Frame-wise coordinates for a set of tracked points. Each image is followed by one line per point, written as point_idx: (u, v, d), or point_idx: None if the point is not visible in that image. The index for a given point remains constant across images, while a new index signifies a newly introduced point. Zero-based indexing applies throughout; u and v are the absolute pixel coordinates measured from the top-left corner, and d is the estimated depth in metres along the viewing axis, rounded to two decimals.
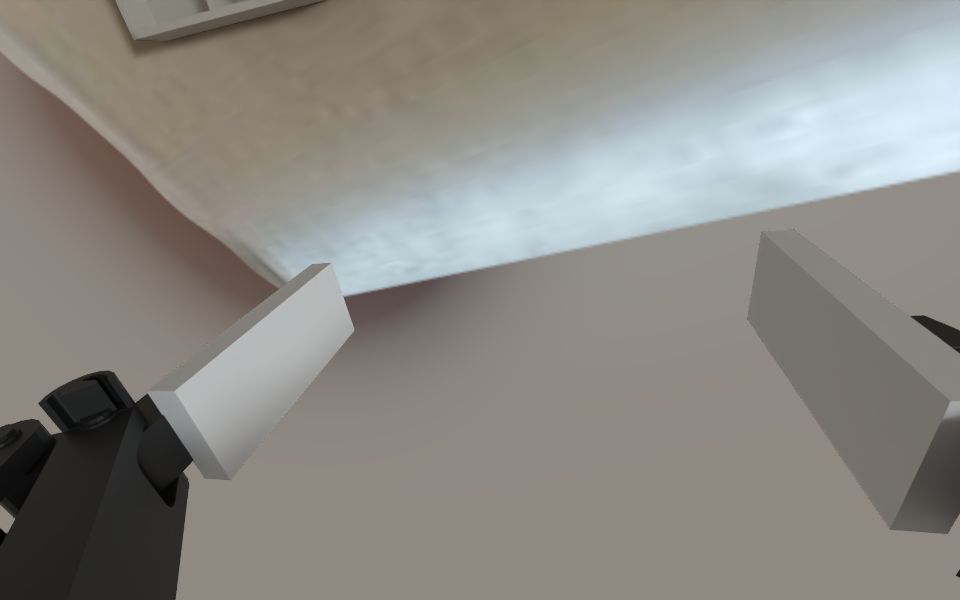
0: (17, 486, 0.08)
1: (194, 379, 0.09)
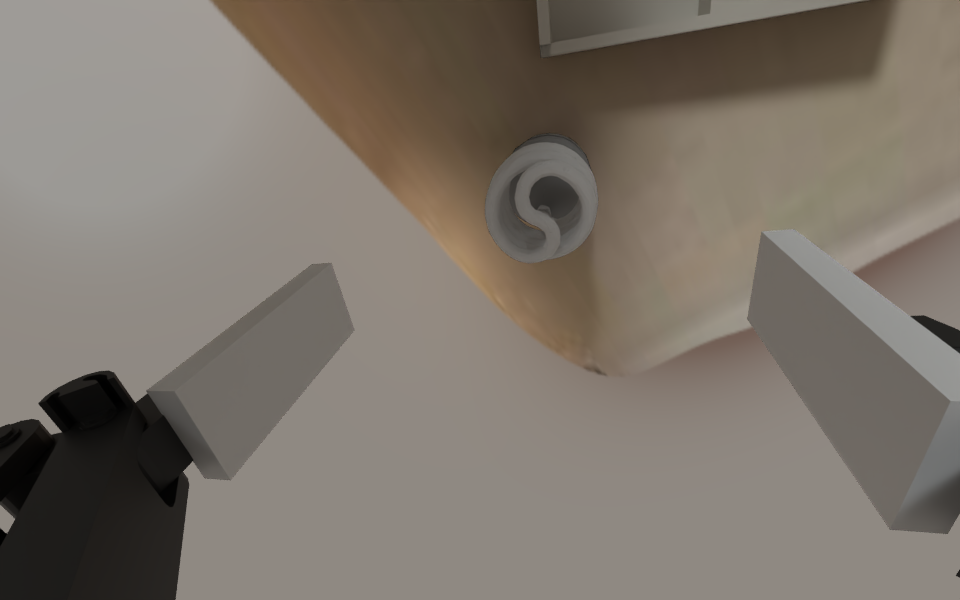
0: (17, 486, 0.08)
1: (194, 379, 0.09)
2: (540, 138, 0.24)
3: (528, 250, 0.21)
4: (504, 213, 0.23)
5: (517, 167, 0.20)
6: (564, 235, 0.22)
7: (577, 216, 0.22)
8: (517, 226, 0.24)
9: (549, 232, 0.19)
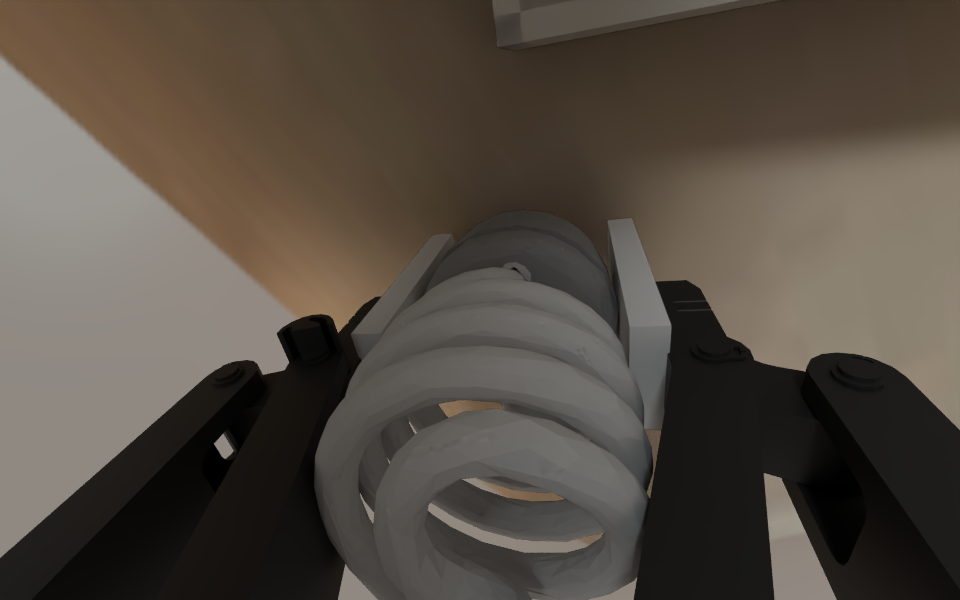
0: (233, 423, 0.09)
1: None
2: (499, 238, 0.10)
3: None
4: (404, 438, 0.09)
5: (391, 406, 0.06)
6: (554, 514, 0.08)
7: None
8: None
9: None
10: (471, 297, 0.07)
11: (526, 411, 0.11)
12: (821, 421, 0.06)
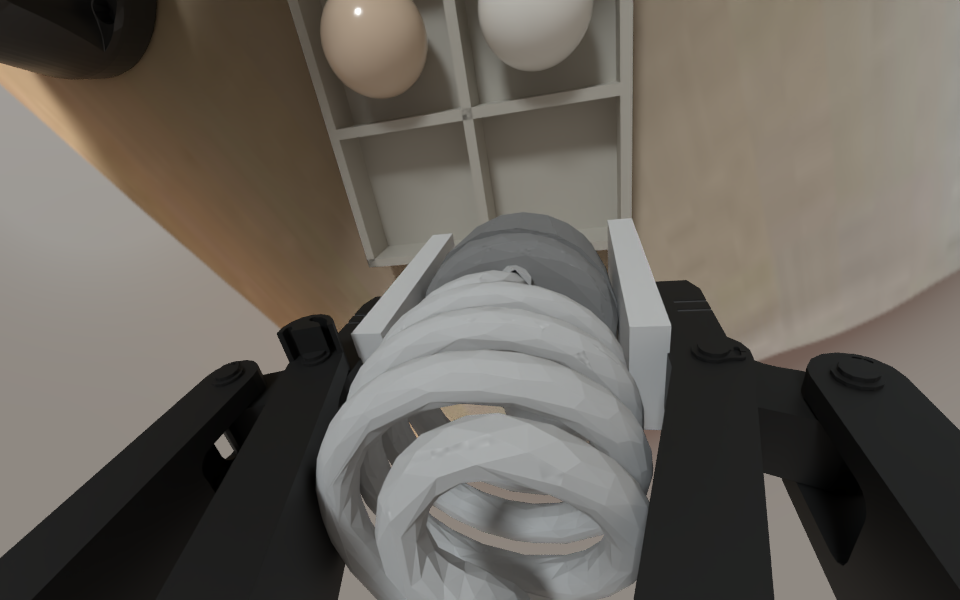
0: (233, 423, 0.09)
1: (389, 325, 0.10)
2: (499, 240, 0.10)
3: None
4: (404, 440, 0.09)
5: (392, 410, 0.06)
6: (554, 516, 0.08)
7: None
8: None
9: None
10: (472, 300, 0.08)
11: (526, 413, 0.11)
12: (821, 421, 0.06)
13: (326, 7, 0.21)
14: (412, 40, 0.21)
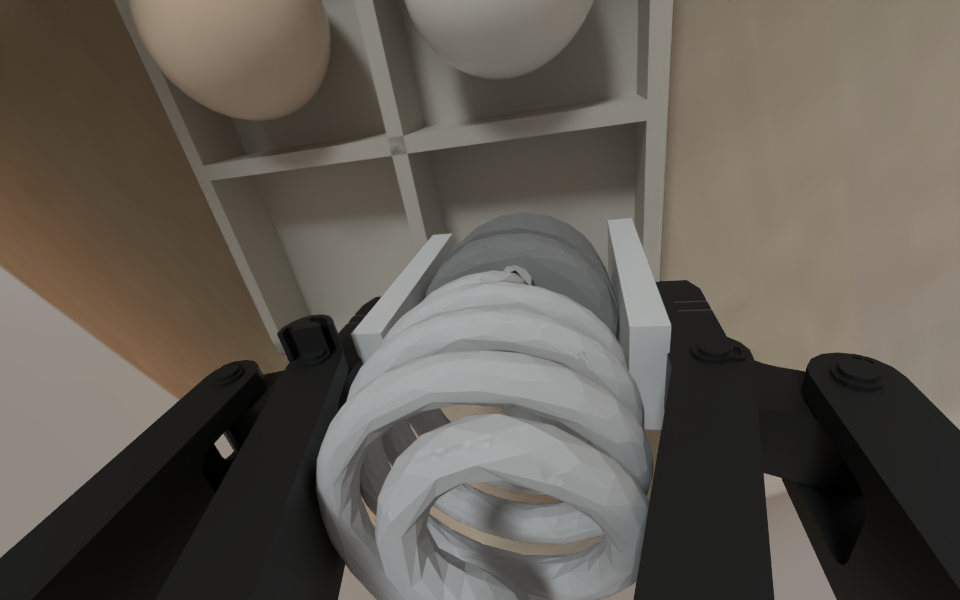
0: (233, 423, 0.09)
1: (389, 325, 0.10)
2: (499, 241, 0.10)
3: None
4: (404, 441, 0.09)
5: (393, 410, 0.06)
6: (554, 517, 0.08)
7: None
8: None
9: None
10: (472, 301, 0.08)
11: (526, 413, 0.11)
12: (821, 421, 0.06)
13: None
14: (288, 24, 0.12)
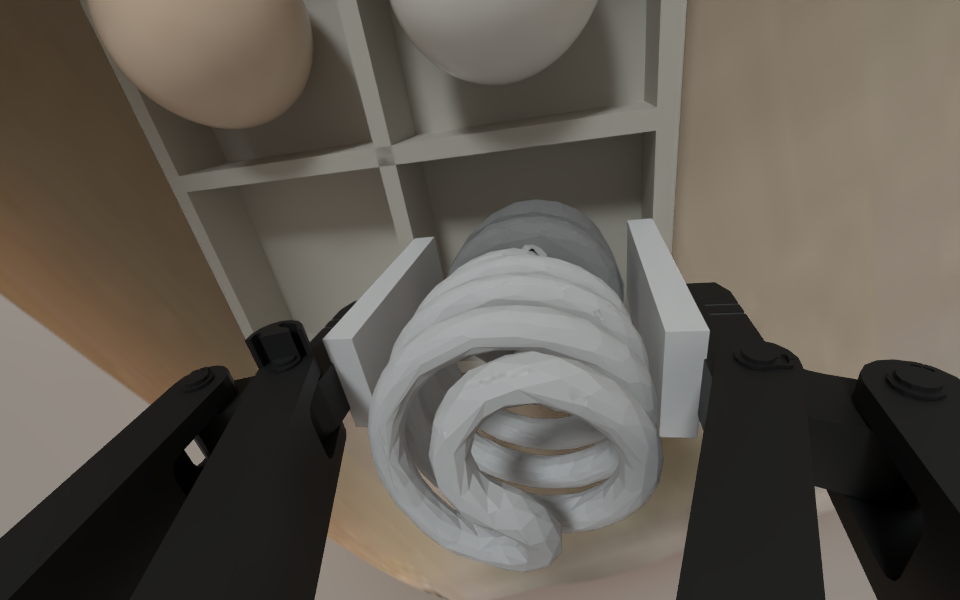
0: (204, 428, 0.09)
1: (362, 330, 0.10)
2: (517, 223, 0.11)
3: (481, 534, 0.08)
4: (435, 399, 0.10)
5: (440, 355, 0.07)
6: (570, 463, 0.09)
7: None
8: None
9: (531, 549, 0.07)
10: (500, 270, 0.09)
11: None
12: (879, 432, 0.06)
13: None
14: (262, 25, 0.11)
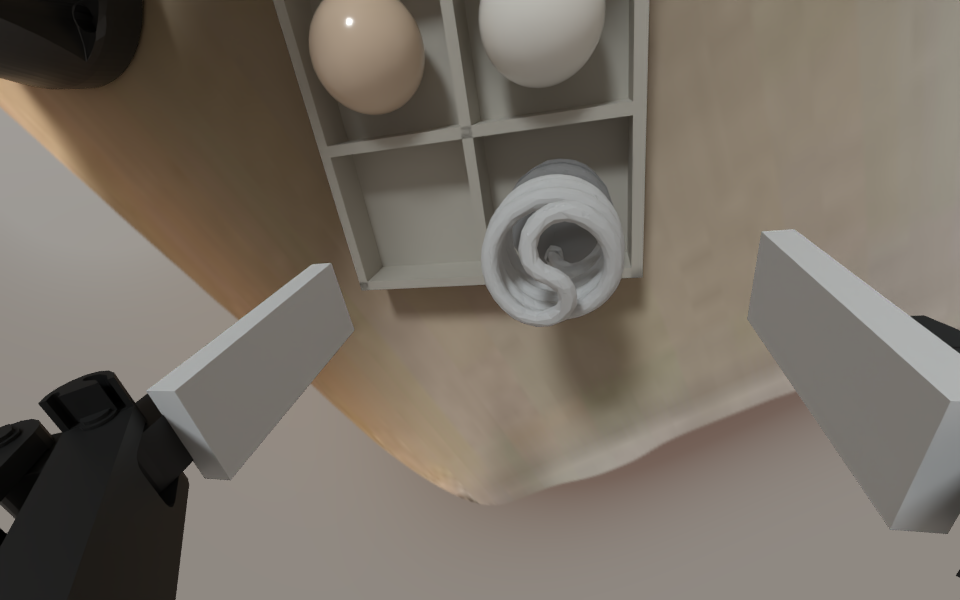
0: (17, 486, 0.08)
1: (194, 379, 0.09)
2: (551, 166, 0.19)
3: (535, 310, 0.16)
4: (506, 259, 0.18)
5: (522, 208, 0.15)
6: (580, 289, 0.18)
7: (597, 264, 0.18)
8: (522, 273, 0.19)
9: (563, 294, 0.15)
10: None
11: (563, 262, 0.20)
12: None
13: (314, 17, 0.19)
14: (407, 53, 0.20)
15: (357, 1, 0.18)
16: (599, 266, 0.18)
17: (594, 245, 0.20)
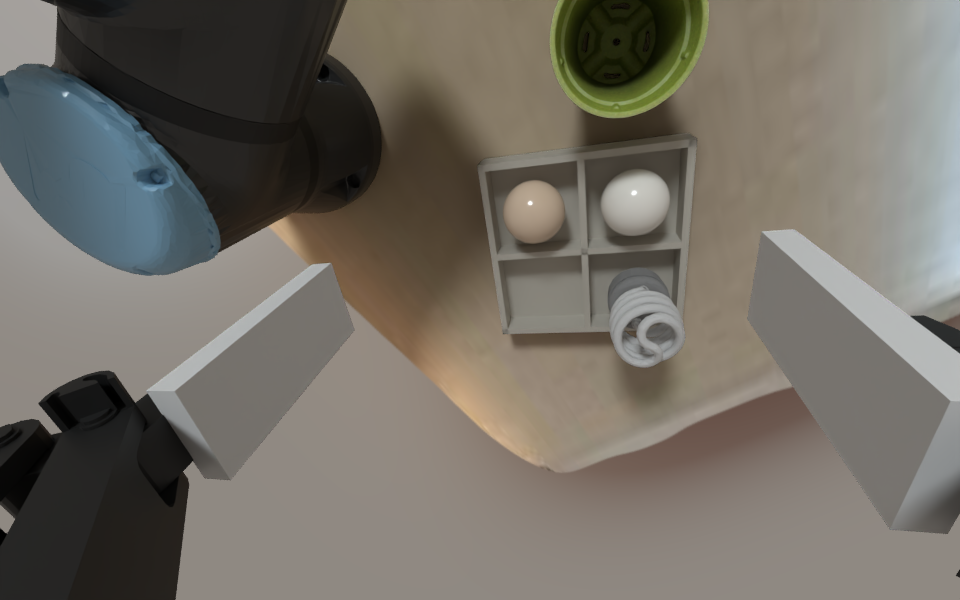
0: (17, 486, 0.08)
1: (194, 379, 0.09)
2: (638, 278, 0.37)
3: (639, 360, 0.34)
4: None
5: (637, 314, 0.32)
6: None
7: (666, 333, 0.35)
8: (623, 335, 0.37)
9: (657, 354, 0.32)
10: (642, 294, 0.34)
11: None
12: None
13: (514, 201, 0.36)
14: (561, 218, 0.36)
15: (540, 197, 0.35)
16: (667, 334, 0.35)
17: None
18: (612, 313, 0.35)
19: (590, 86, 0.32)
